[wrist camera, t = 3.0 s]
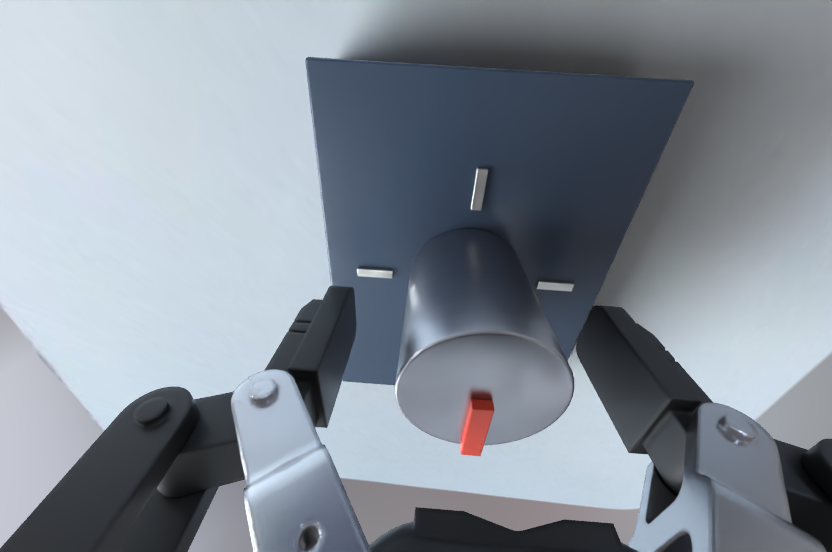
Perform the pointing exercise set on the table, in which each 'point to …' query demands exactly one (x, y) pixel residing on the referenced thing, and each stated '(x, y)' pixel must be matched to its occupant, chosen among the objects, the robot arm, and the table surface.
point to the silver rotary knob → (477, 346)
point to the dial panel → (479, 179)
